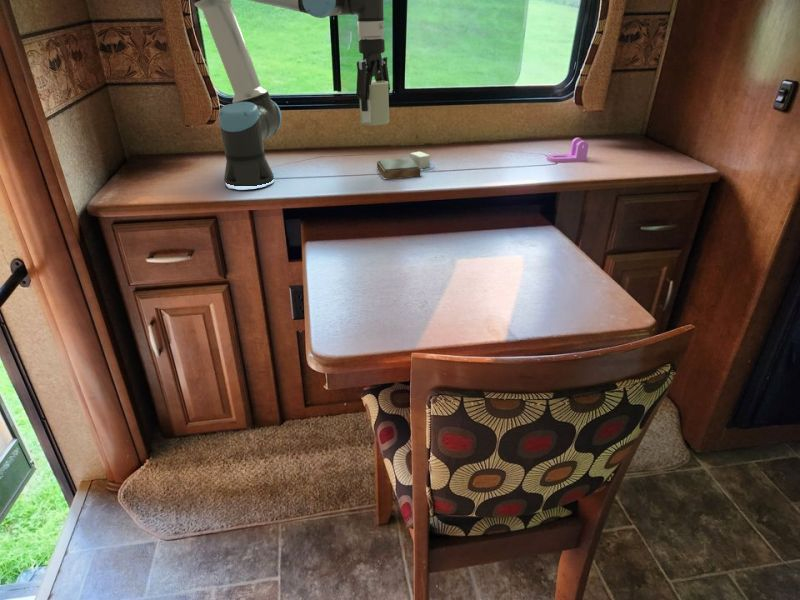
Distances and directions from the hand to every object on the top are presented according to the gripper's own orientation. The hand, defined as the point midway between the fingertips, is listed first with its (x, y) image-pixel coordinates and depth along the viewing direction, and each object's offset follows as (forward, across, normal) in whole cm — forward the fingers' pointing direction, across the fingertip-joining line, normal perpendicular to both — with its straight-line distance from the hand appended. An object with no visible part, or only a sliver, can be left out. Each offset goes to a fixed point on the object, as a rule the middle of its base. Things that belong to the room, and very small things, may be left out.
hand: (374, 118), depth 161 cm
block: (+18, +16, -8) cm, 25 cm away
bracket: (+19, +45, -51) cm, 70 cm away
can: (+1, 0, 0) cm, 1 cm away
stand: (+18, +6, -5) cm, 19 cm away
